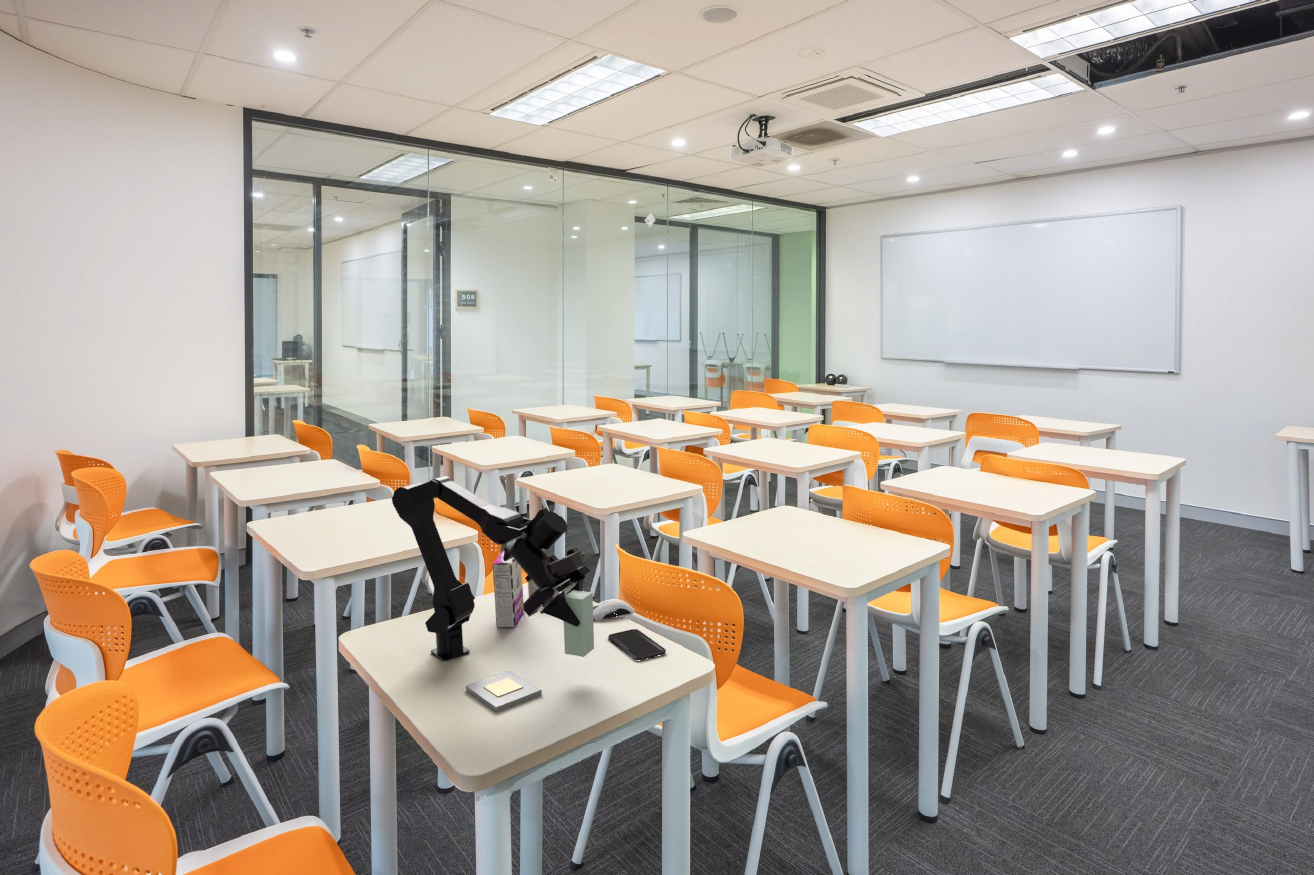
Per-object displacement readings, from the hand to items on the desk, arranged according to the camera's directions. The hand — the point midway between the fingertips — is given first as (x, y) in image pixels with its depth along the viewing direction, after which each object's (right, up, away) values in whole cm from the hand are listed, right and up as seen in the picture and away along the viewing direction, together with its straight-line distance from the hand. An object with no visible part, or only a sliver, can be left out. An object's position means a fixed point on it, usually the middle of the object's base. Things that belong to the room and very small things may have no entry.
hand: (584, 621), depth 148 cm
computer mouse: (0, -8, +36) cm, 37 cm away
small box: (-17, -6, +49) cm, 53 cm away
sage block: (-1, -7, +1) cm, 7 cm away
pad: (-16, -13, -4) cm, 21 cm away
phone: (+10, -10, +17) cm, 22 cm away
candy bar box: (-22, -9, +34) cm, 42 cm away
